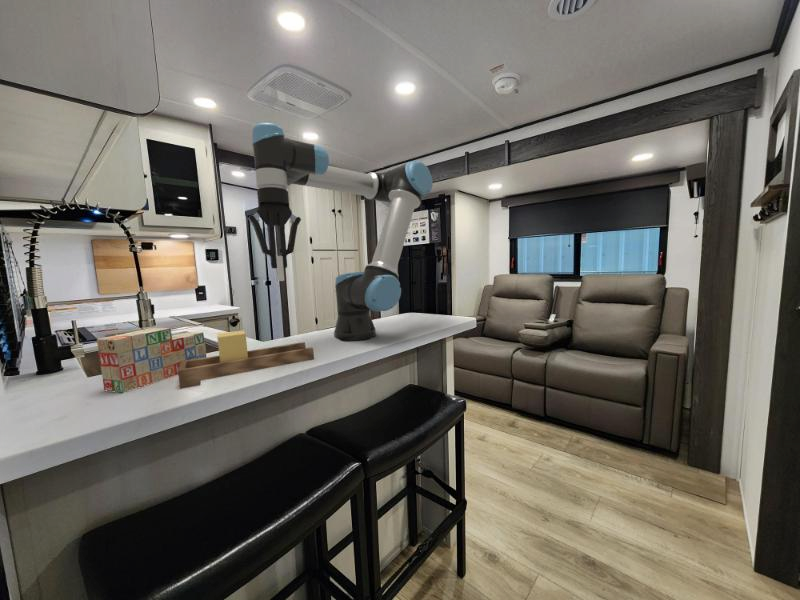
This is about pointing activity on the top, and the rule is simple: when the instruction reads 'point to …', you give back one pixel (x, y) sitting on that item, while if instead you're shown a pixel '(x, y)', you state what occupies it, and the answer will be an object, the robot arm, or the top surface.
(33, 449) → the top surface
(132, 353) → the stack of blocks
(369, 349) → the top surface
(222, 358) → the block
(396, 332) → the top surface
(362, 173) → the robot arm
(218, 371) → the chute
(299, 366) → the top surface
